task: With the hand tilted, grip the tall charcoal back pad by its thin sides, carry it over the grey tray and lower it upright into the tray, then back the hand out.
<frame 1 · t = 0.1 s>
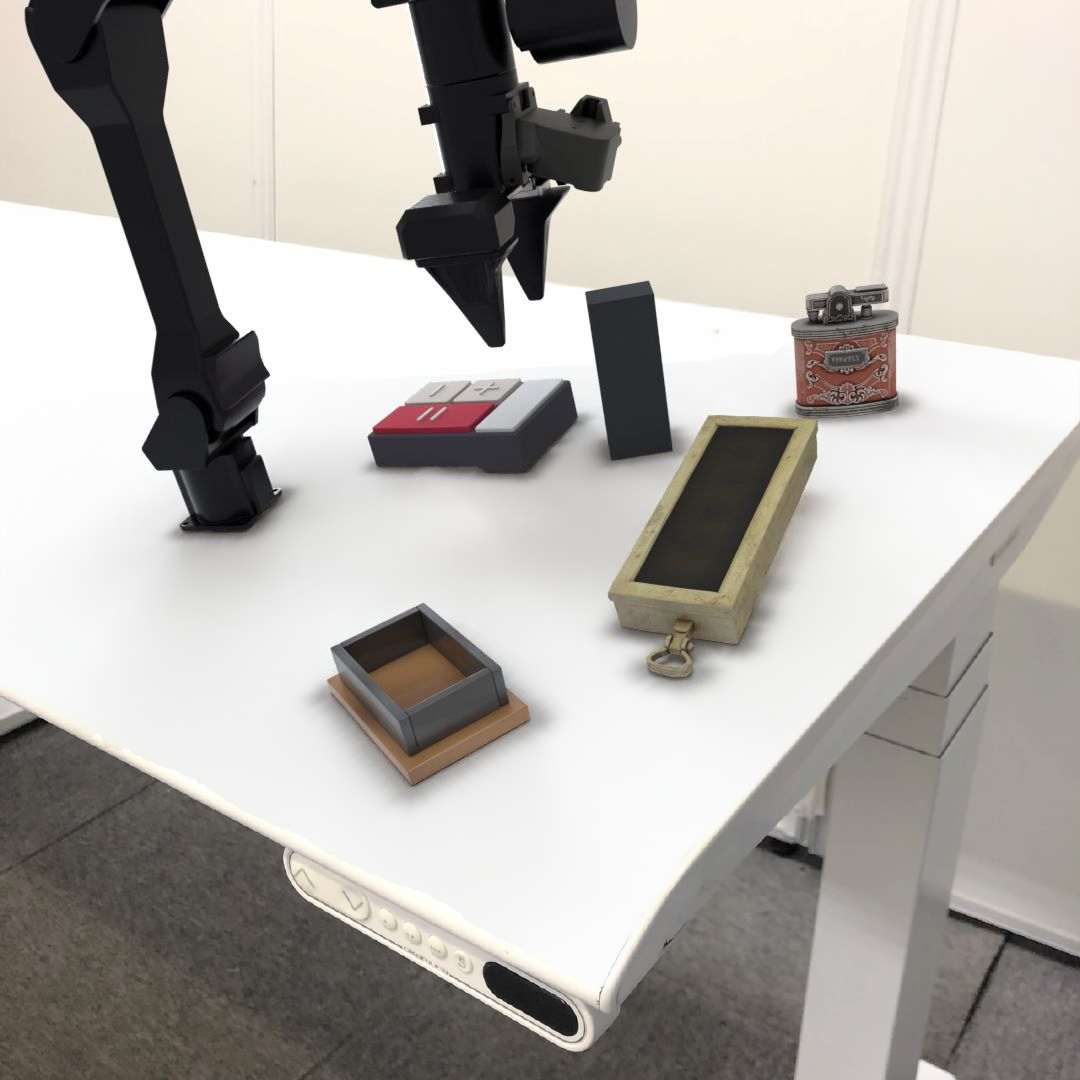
hand: (518, 321, 71), 15 cm above the table, tool pointing down, fingers open, 9 cm apart
grey tray: (426, 705, 60), on the table
box: (719, 574, 66), on the table
lighter: (846, 409, 84), on the table
calculator: (478, 444, 91), on the table
back pad: (639, 447, 84), on the table
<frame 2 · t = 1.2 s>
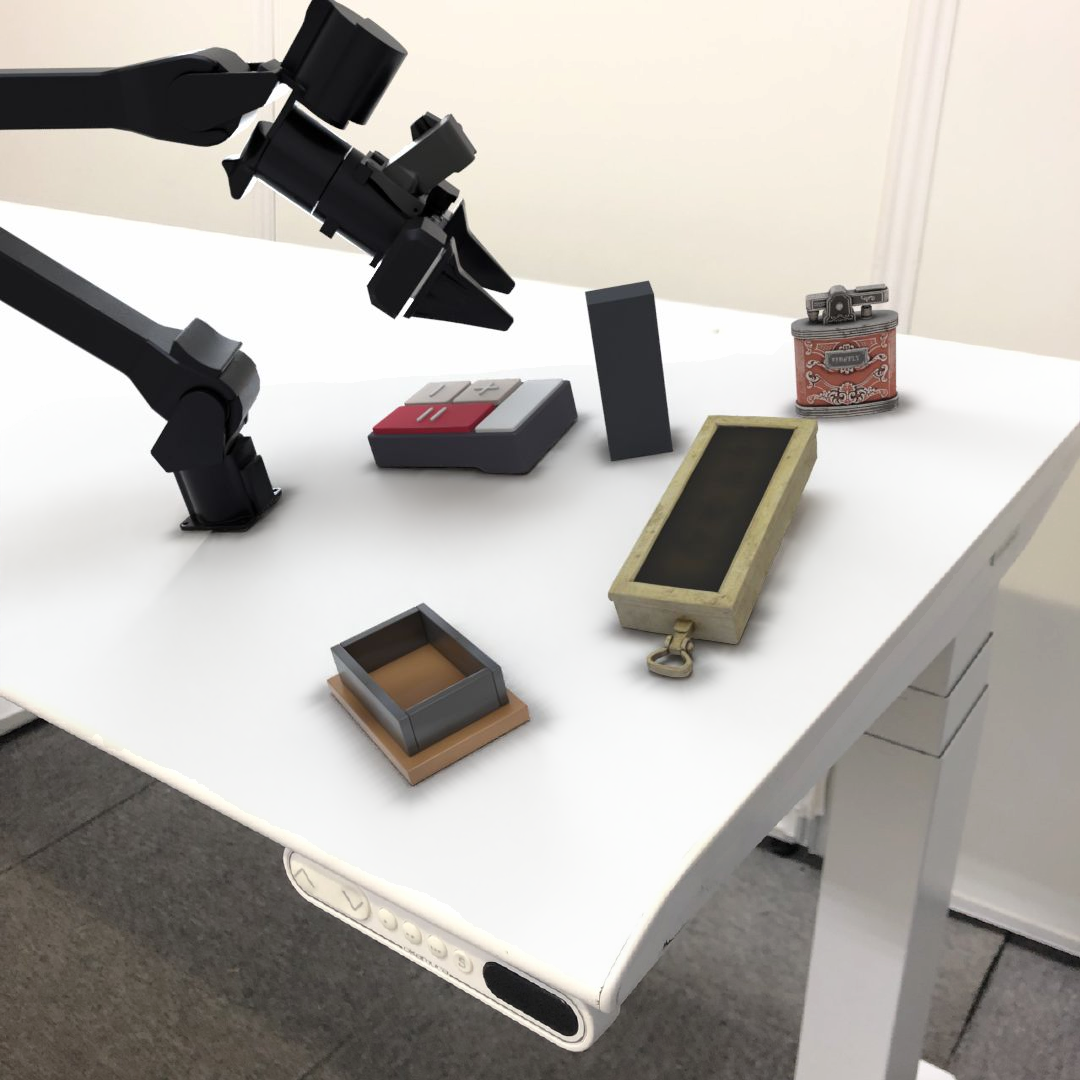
hand: (511, 306, 78), 13 cm above the table, tool tilted 45°, fingers open, 9 cm apart
nothing on the table moved.
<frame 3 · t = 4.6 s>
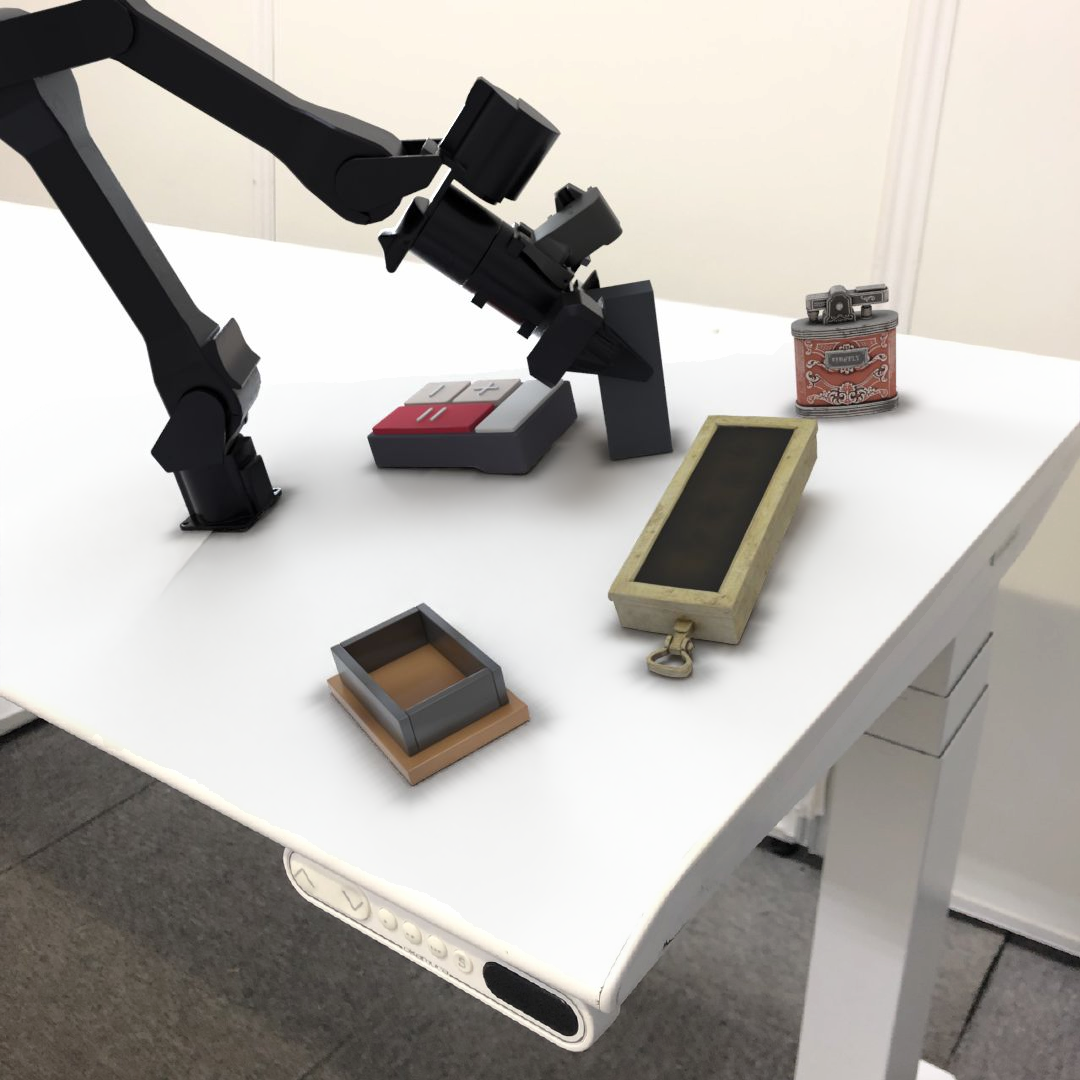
hand: (647, 367, 81), 7 cm above the table, tool tilted 45°, fingers closed on back pad, 3 cm apart
back pad: (640, 447, 84), on the table, touching gripper
everything else where it was.
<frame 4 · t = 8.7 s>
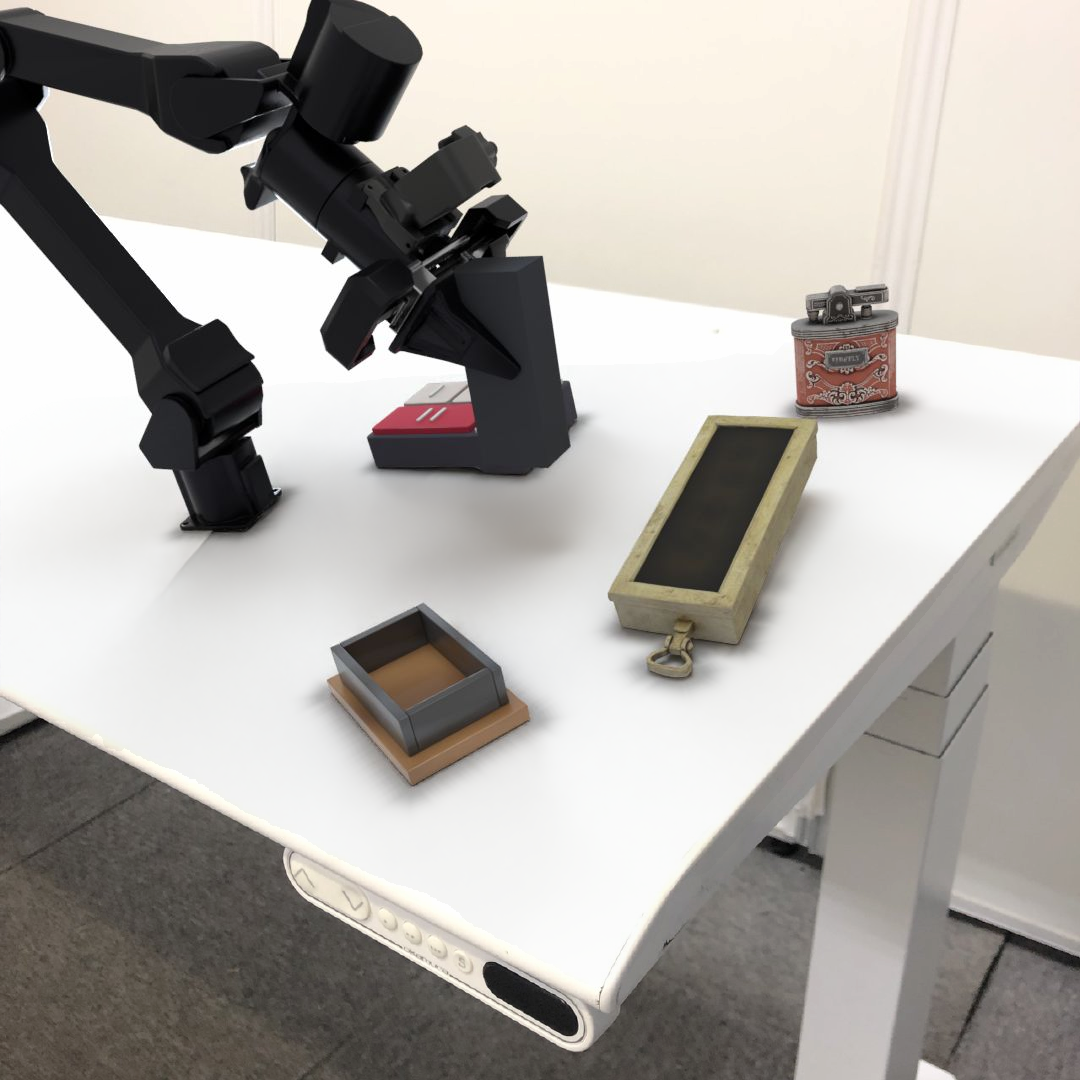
hand: (530, 362, 66), 14 cm above the table, tool tilted 45°, fingers closed on back pad, 3 cm apart
back pad: (526, 455, 70), point 7 cm above the table, touching gripper
everything else where it was.
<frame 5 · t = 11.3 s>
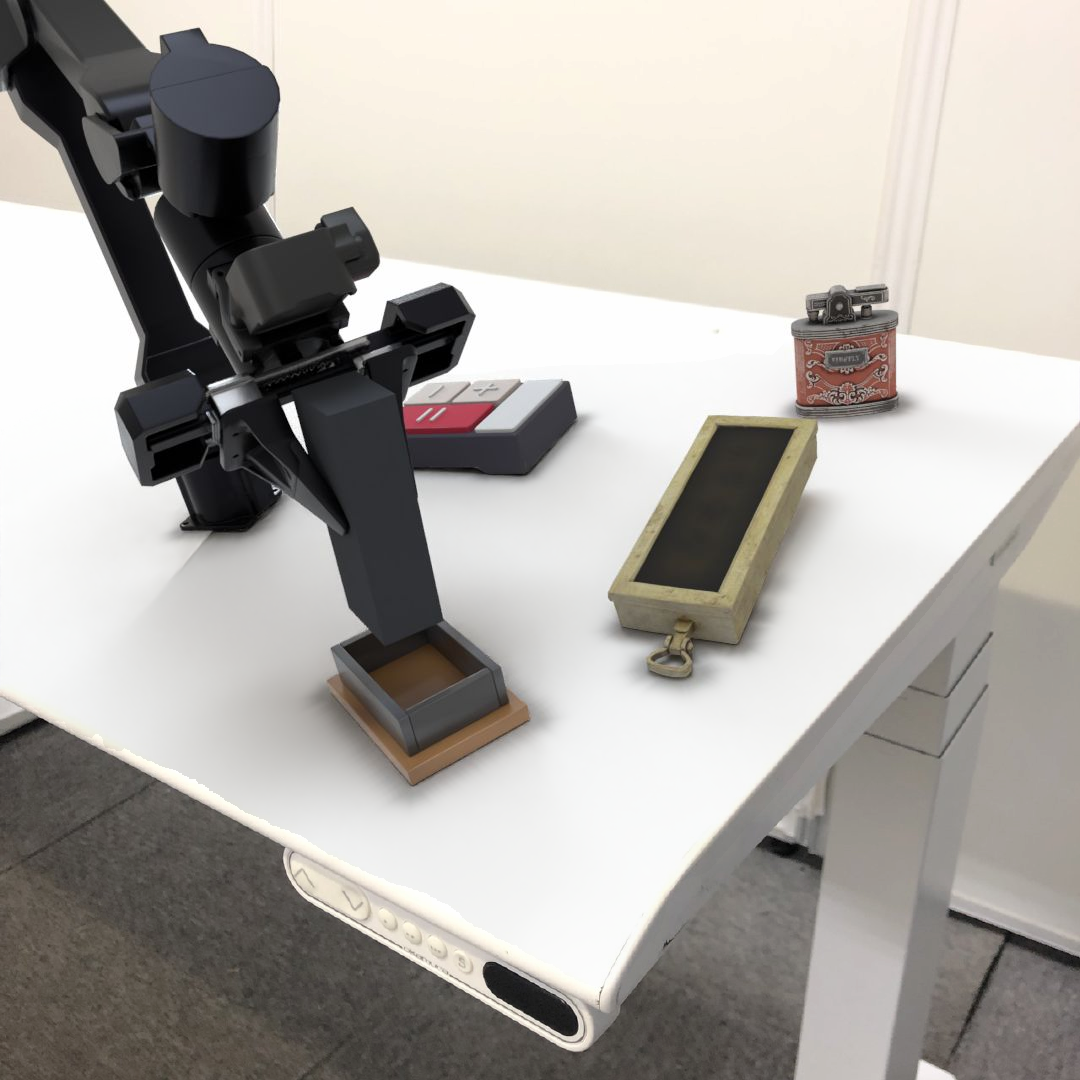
hand: (380, 516, 52), 13 cm above the table, tool tilted 45°, fingers closed on back pad, 3 cm apart
back pad: (395, 614, 56), point 6 cm above the table, touching gripper
everything else where it was.
when the fingers open (8 cm above the table, at t = 13.1 s): back pad stays where it is, resting on grey tray.
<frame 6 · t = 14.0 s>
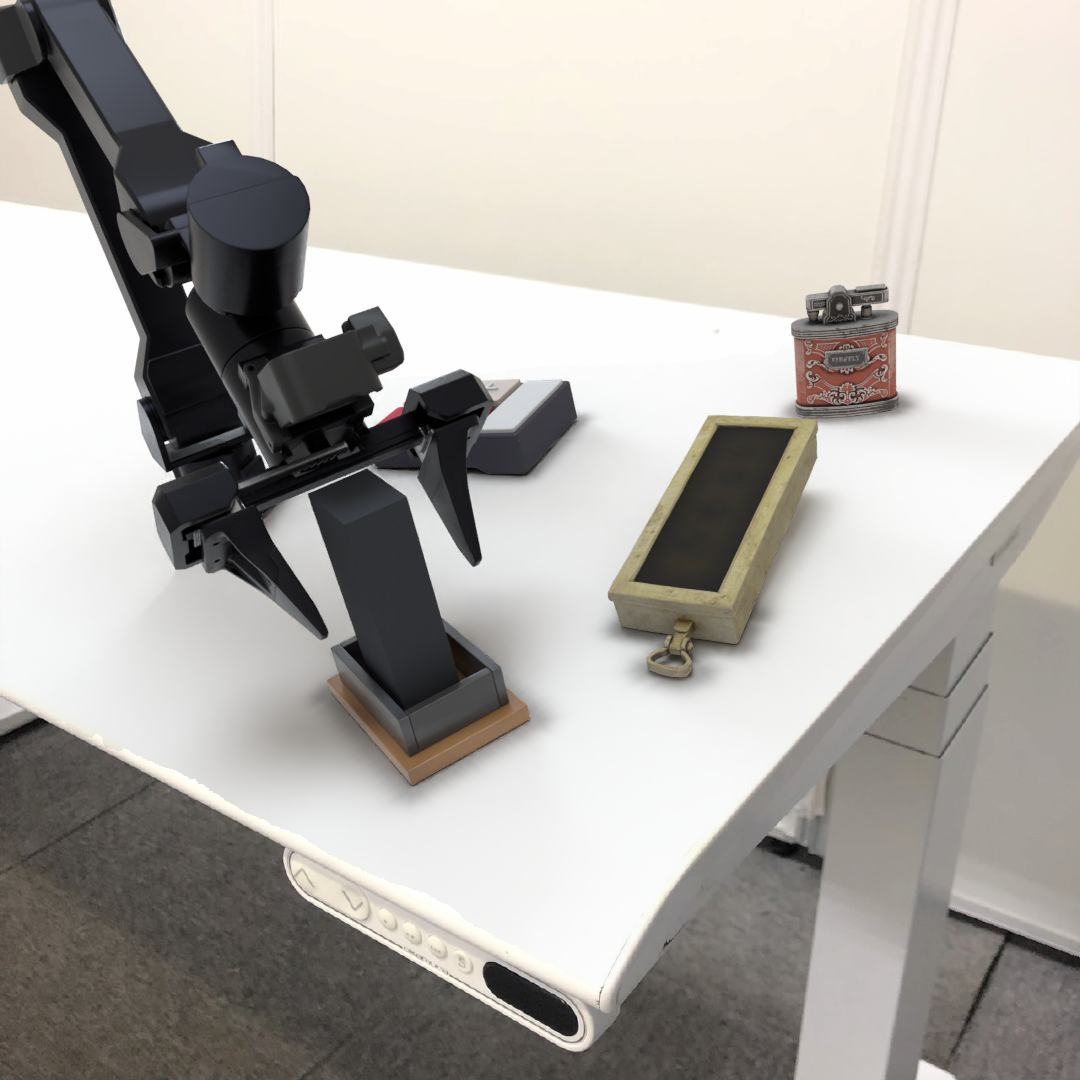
hand: (404, 598, 55), 8 cm above the table, tool tilted 45°, fingers open, 9 cm apart
back pad: (418, 692, 59), point 1 cm above the table, touching grey tray
everything else where it was.
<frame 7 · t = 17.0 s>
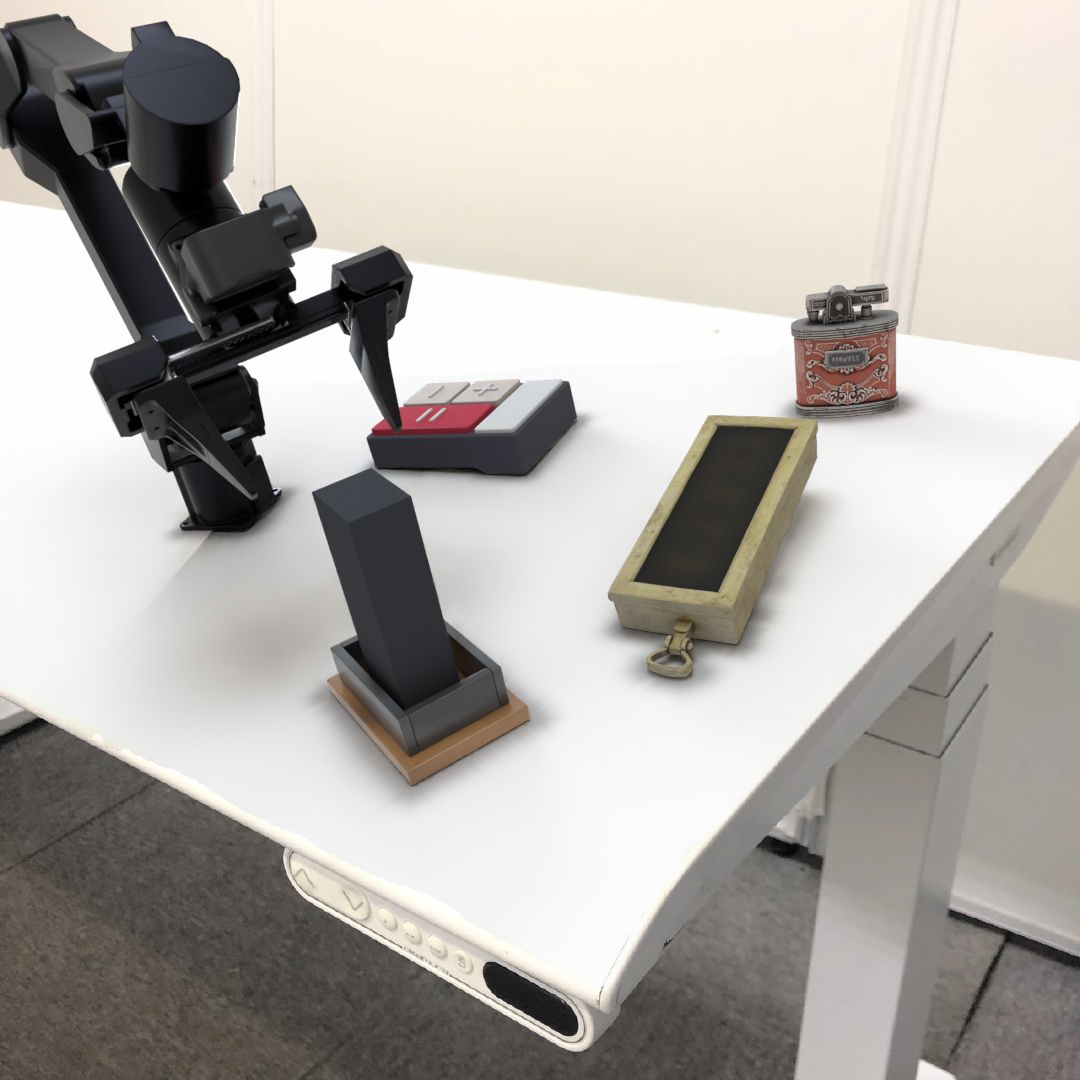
hand: (328, 462, 59), 13 cm above the table, tool tilted 40°, fingers open, 9 cm apart
nothing on the table moved.
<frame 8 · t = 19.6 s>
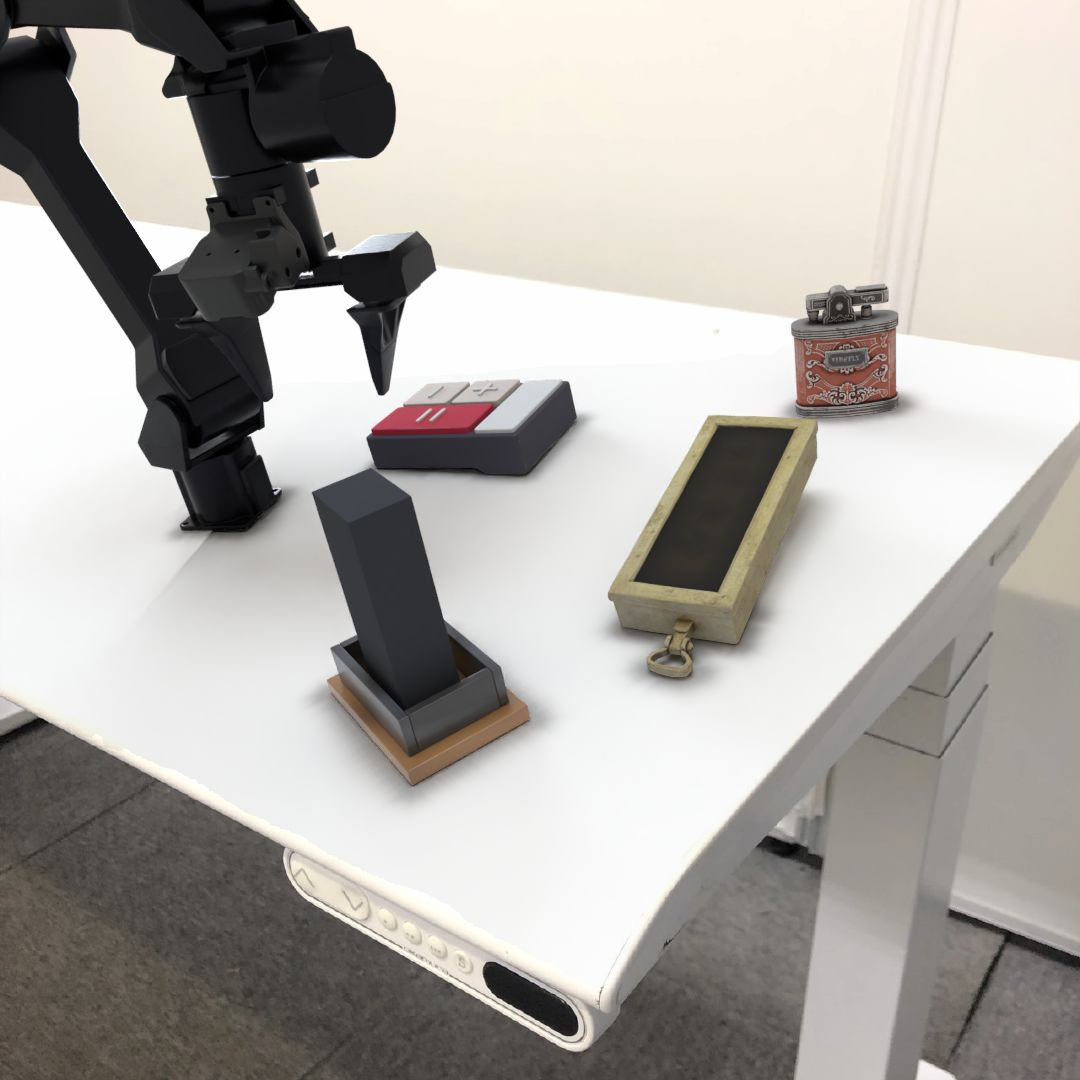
hand: (324, 396, 72), 12 cm above the table, tool pointing down, fingers open, 9 cm apart
nothing on the table moved.
at the end: back pad 0.3 cm off-centre on the grey tray, point 1.0 cm above the grey tray's base; back pad tilted 0°; the gripper is holding nothing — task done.
